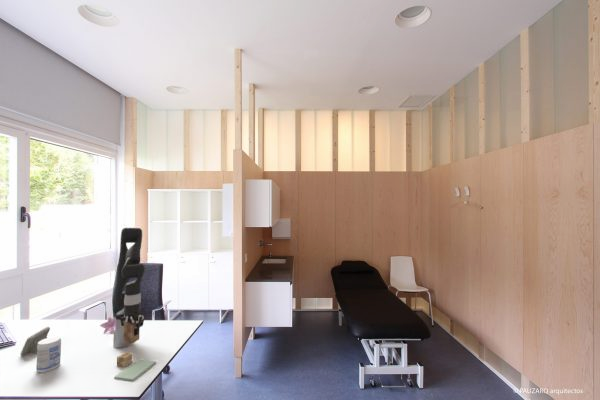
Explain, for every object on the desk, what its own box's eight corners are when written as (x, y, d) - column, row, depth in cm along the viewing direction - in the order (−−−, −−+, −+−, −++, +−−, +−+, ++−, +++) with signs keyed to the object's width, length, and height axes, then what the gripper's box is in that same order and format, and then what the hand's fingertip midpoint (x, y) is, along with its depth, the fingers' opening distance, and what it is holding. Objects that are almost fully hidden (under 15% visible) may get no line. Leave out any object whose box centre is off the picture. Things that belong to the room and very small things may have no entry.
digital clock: (42, 342, 171) (42, 326, 171) (55, 343, 171) (56, 326, 171) (14, 357, 155) (15, 338, 155) (29, 357, 155) (30, 338, 155)
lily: (98, 333, 187) (95, 323, 183) (114, 320, 197) (112, 311, 193) (110, 341, 183) (108, 331, 179) (126, 327, 193) (124, 318, 189)
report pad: (114, 378, 136) (114, 376, 136) (138, 360, 152) (138, 359, 152) (133, 381, 134) (133, 379, 134) (155, 363, 150) (155, 361, 150)
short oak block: (116, 366, 147) (116, 356, 147) (124, 361, 152) (124, 352, 152) (124, 367, 146) (124, 357, 146) (131, 362, 151) (132, 353, 151)
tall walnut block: (123, 342, 140) (124, 323, 140) (131, 338, 145) (131, 319, 145) (131, 343, 139) (132, 324, 139) (139, 339, 144) (139, 320, 144)
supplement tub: (52, 371, 141) (53, 343, 141) (31, 374, 139) (32, 345, 139) (64, 361, 150) (65, 335, 151) (44, 363, 148) (45, 336, 149)
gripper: (115, 303, 140) (114, 336, 140) (138, 305, 137) (137, 339, 137) (127, 298, 148) (126, 330, 147) (149, 300, 145) (148, 332, 144)
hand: (131, 334), depth 142 cm, fingers closed on tall walnut block, 5 cm apart
